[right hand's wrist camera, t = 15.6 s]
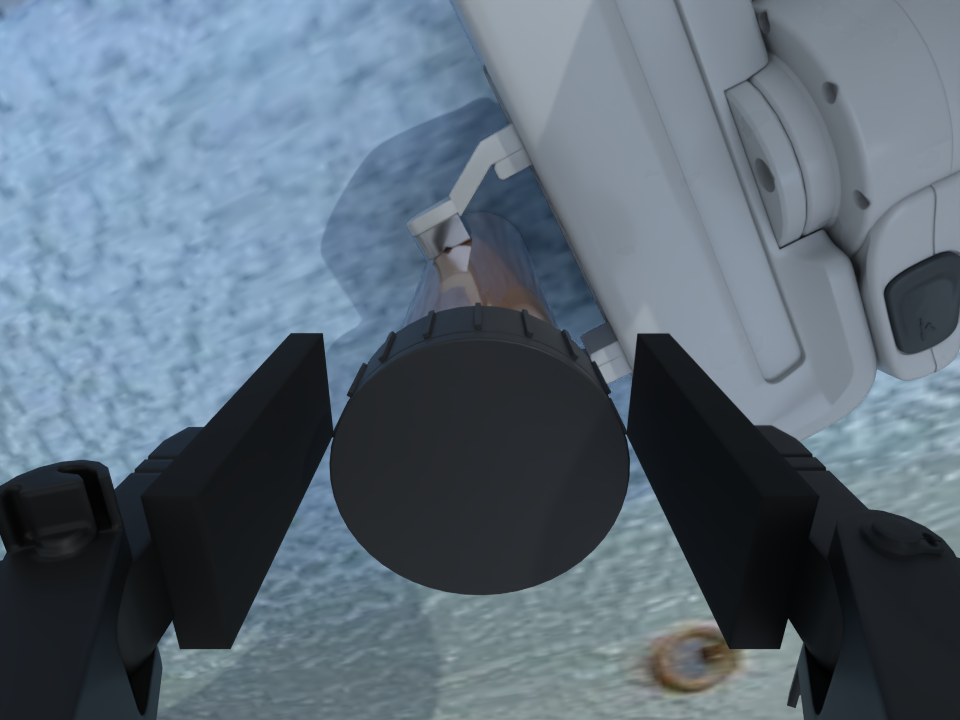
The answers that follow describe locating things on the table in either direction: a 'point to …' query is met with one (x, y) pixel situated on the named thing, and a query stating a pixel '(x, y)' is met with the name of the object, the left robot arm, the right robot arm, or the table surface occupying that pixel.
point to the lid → (479, 452)
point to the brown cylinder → (482, 274)
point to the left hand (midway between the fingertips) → (458, 312)
